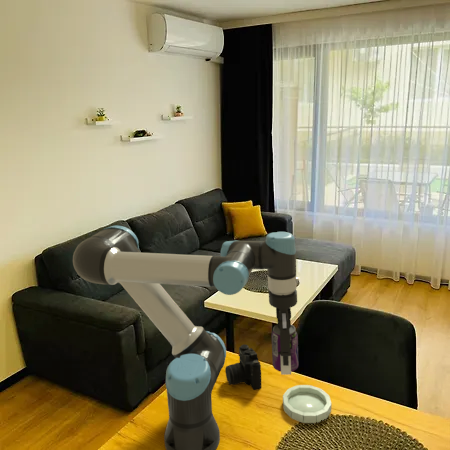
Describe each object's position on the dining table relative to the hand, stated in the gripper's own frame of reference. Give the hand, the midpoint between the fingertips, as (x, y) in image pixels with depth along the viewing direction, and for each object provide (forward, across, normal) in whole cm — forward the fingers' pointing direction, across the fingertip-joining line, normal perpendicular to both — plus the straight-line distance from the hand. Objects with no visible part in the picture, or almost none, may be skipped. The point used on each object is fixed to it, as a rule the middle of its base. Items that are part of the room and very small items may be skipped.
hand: (285, 365), depth 122 cm
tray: (+18, +6, -6) cm, 20 cm away
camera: (+18, +18, +14) cm, 29 cm away
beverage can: (+1, 0, 0) cm, 1 cm away
